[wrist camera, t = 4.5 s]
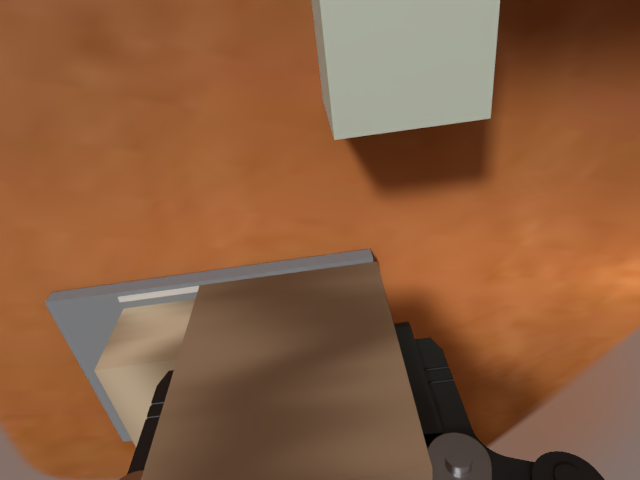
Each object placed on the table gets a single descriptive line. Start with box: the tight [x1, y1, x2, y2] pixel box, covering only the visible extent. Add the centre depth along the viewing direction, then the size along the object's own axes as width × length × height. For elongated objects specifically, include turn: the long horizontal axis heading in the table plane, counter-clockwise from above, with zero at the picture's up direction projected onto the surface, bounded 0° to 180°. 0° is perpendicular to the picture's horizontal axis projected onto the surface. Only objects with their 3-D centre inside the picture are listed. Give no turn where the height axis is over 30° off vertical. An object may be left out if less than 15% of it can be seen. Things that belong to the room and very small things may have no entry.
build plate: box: [45, 249, 373, 442], centre depth 25 cm, size 16×11×1 cm
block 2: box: [312, 0, 500, 140], centre depth 15 cm, size 5×5×5 cm
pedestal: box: [94, 299, 195, 447], centre depth 23 cm, size 9×9×4 cm
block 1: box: [141, 261, 432, 480], centre depth 11 cm, size 5×5×6 cm
